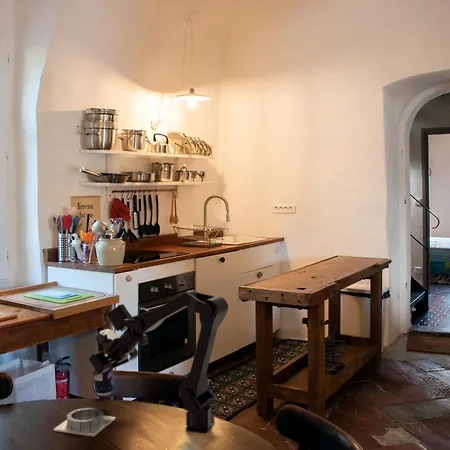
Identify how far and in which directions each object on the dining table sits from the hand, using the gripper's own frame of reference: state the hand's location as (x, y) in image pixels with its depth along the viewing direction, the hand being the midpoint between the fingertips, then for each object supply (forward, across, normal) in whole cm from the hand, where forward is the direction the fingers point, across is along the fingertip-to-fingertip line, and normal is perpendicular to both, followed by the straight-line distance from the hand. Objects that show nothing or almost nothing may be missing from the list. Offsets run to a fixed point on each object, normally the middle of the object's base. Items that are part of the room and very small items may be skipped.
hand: (100, 372), depth 188 cm
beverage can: (+4, 0, +6) cm, 7 cm away
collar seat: (+4, +14, +12) cm, 19 cm away
